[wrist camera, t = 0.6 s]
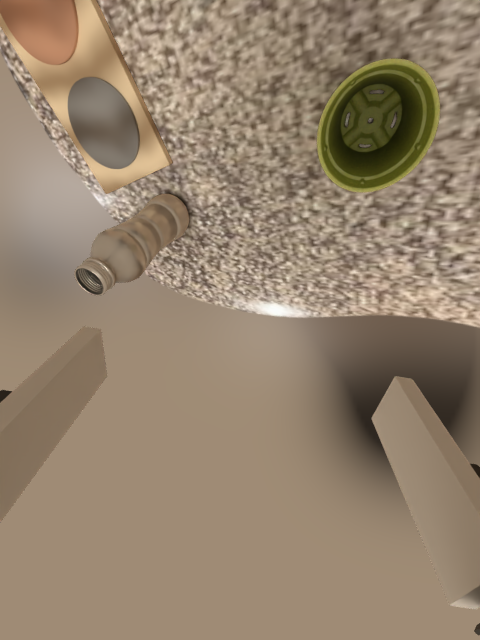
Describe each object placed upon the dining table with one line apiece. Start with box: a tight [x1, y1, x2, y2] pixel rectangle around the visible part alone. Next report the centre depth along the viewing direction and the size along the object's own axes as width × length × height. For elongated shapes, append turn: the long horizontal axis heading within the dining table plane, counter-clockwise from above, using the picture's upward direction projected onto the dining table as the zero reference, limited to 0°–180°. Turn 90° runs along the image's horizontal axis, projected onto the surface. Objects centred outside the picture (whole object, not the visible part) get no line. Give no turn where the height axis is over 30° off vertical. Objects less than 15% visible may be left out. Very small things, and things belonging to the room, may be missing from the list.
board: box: [0, 0, 173, 194], centre depth 34 cm, size 26×13×2 cm, turn 22°
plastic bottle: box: [74, 194, 189, 296], centre depth 36 cm, size 6×7×20 cm
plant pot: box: [317, 58, 440, 192], centre depth 27 cm, size 9×9×9 cm
